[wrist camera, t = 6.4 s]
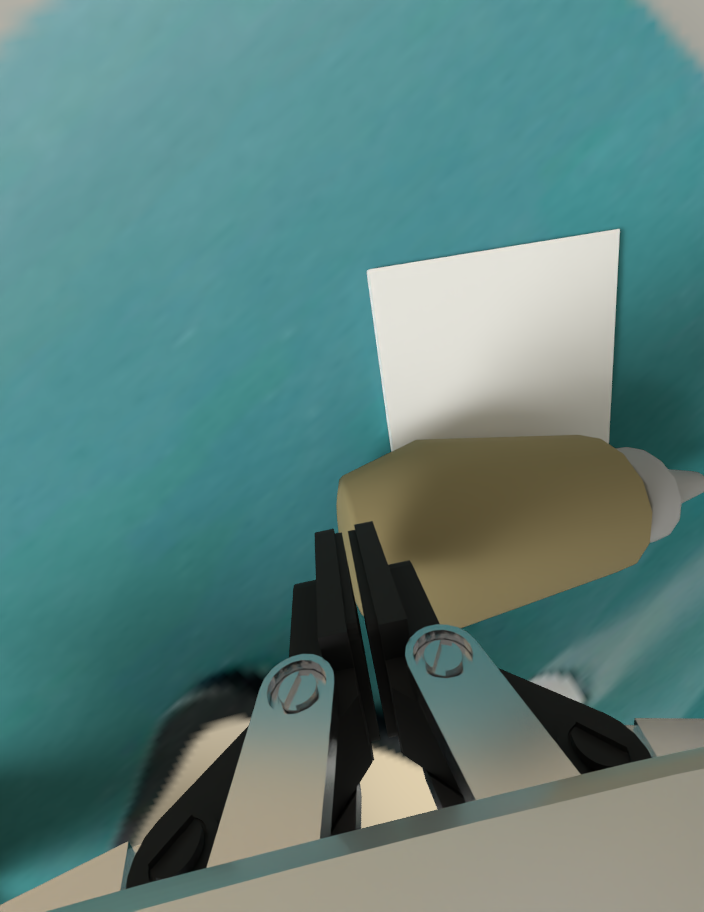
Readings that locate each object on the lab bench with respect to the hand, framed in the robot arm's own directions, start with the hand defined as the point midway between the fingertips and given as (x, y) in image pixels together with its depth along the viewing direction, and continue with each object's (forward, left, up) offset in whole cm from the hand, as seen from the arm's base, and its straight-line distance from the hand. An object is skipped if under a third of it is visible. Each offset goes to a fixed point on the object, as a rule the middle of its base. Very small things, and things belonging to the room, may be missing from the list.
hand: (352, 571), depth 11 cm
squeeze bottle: (-2, 0, -5) cm, 5 cm away
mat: (0, -9, -10) cm, 13 cm away
